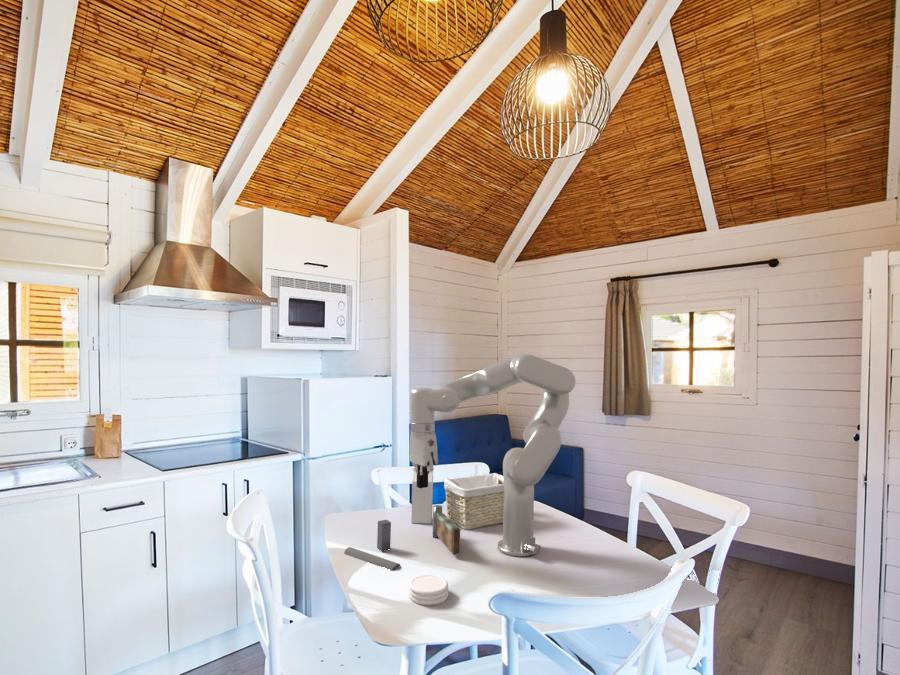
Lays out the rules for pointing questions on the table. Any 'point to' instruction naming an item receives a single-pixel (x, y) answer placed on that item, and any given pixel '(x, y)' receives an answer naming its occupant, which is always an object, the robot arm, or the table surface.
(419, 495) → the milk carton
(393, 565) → the half round rod
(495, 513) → the storage basket
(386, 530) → the gate posts
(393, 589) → the table surface
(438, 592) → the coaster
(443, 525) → the wooden board
